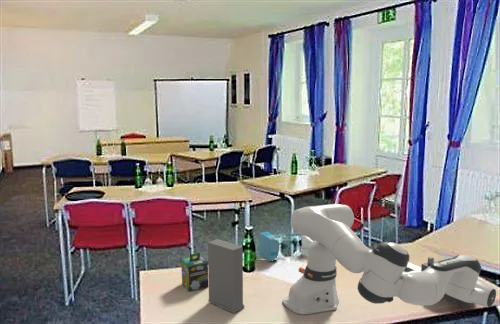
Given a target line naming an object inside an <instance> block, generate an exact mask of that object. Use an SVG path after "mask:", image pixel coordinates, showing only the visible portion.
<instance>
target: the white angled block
mask: <svg viewBox="0 0 500 324" xmlns="http://www.w3.org/2000/svg"><path fill="white" fill-rule="evenodd" d="M313 241H314V239H312V238H310V237H307V236H304V235H301V248H300V251H301V253H302V254H303V255H302V256H305V257H308V247H309V245H310V244H311V243H312V242H313Z"/></svg>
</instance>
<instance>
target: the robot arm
mask: <svg viewBox="0 0 500 324" xmlns="http://www.w3.org/2000/svg"><path fill="white" fill-rule="evenodd" d="M354 215H355V214H354V212H353V210H352V208H351V207H350V206H349V205H347V204H340V203H330V204H320V205H308V206H304V207H301V208H297V209H295V210H294V211H293V212H292V213H291V216H290V225H291V226H290V227H291V228H292V230H293V231H294V232H295V233H296V234H297V235H299V236H302V235H304V236H307V237H309V238H310V239H311V240H313V242H312V243H311V244H310V245H309V247H308V256H306V257H307V260H306V261H307V262H306V263H307V264H306V266H305V268H303V267H301V266H300V267H299V268H298V272H299V273H301V274H303V275H302V276H301V277H300V278H299V279H297V281H296V282H294V284H292V285H291V286H290V288H289V291H288V296H286V297H283V299H282V305H284V306H285V307H286V308H287V309H288V310H290V311H291V312H293V313H295V314H298V315H300V316H301V315H303V316H304V315H309V314H316V313H322V312H328V311H330V312H331V311H336V310H337V309H338V307H337V305H338V304H339V303H340V300H339V296H338V291H337V283H336V277H337V266H336V264H337V263H336V261H337V262H338V263H339V264H340V265H341V266H342V267H344V269H345V270H347V271H348V272H350V273H352V274H361V273H362V275H361V278H359V280H358V283H357V291H358V293H359V295H360V296H361V297H362V298H363V299H364V300H366V301H367V302H369V303H372V304H377V305H378V304H384V303H391V302H393V301H394V297H397V298H398V299H399V300H401V301H402V302H404V303H405V304H410V305H413V306H433V305H436V304H438V303H439V302H440V301H442V299H443V298H444V297H446V298H447V299H448V301H449V302H451V303H453V304H455V305H458V306H460V307H462V308H463V307H465V308H466V307H468V306H472V305H473V304H476V305H478V306H482V307H485V308H490V307H491V306H493V305H494V303H495V301H496V297H497V291H496V290H497V289H496V288H494V287H493V286H492V285H489V284H488V283H486V282H484V281H482V280H480V279H478V278H479V277H480V276H479V275H480V274H481V270H482V265H481V263H480V261H479V260H478V259H477V258H475V257H474V256H472V255H468V254H457V255H454V256H453V257H449V258H445V259H441V260H438V261H434V263H432V264H431V265H430V266H429V267H428V268H427V269H425V270H424V271H420V272H413V273H408V274H403V272H404V269H405V267H407V265H408V262H409V261H410V257H411V256H410V255H409V252H408V251H407V250H406V248H404V247H403V246H402V245H400V244H399V243H396V242H394V241H384V242H380V243H374V244H372V245H371V246H372V247H373V249H374V250H372V249H369V248H368V247H369V246H367V245H365V244H364V242H363V241H362V240H361V239H360V237H359V236H358V235H357V234H356V233H355V231H353V230H352V226H353V224H354V222H355V221H354V220H355V216H354ZM409 263H410V262H409Z"/></svg>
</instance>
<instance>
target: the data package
mask: <svg viewBox="0 0 500 324" xmlns="http://www.w3.org/2000/svg"><path fill="white" fill-rule="evenodd" d="M275 237H277V236H276V235H274V234H272V233H271V232H269V231H264V232H259V234H258V255H259V256H260V257H261V258H263V259H264V260H266V261H267V260H268V261H267V262H269V261H271V262H273V261H272V260H274V259H275V258H277V256H278V257H279V242H278V243H277V242H276V241H275V240H274V238H275Z"/></svg>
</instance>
